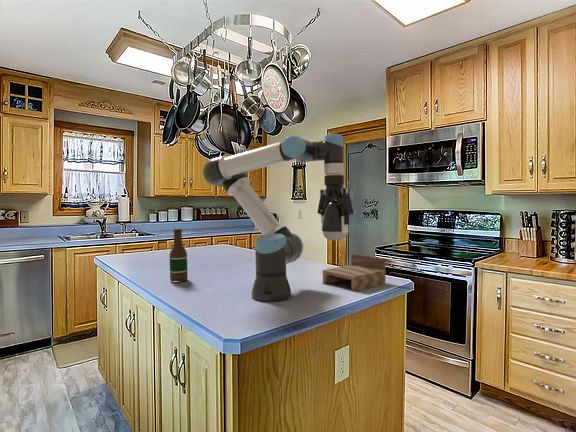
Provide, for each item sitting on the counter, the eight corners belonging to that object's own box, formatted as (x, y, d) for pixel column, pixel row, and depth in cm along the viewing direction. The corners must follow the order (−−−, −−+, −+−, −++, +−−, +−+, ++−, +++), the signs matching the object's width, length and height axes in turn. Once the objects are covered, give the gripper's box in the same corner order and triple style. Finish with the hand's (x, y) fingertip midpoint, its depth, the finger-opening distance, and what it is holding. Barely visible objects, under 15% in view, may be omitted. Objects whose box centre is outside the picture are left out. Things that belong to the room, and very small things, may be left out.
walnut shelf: (354, 291, 142) (354, 264, 141) (322, 283, 156) (322, 258, 155) (385, 283, 154) (385, 258, 153) (353, 277, 168) (353, 253, 167)
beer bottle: (188, 281, 163) (187, 229, 162) (170, 283, 160) (169, 230, 159) (186, 278, 170) (185, 228, 169) (169, 279, 167) (168, 228, 166)
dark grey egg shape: (327, 241, 132) (326, 200, 131) (318, 238, 142) (317, 200, 142) (352, 240, 134) (352, 200, 134) (342, 237, 145) (341, 200, 144)
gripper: (363, 173, 130) (363, 233, 131) (321, 177, 149) (322, 230, 150) (348, 172, 126) (349, 235, 127) (307, 176, 144) (308, 231, 145)
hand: (334, 232), depth 138 cm, fingers closed on dark grey egg shape, 10 cm apart
